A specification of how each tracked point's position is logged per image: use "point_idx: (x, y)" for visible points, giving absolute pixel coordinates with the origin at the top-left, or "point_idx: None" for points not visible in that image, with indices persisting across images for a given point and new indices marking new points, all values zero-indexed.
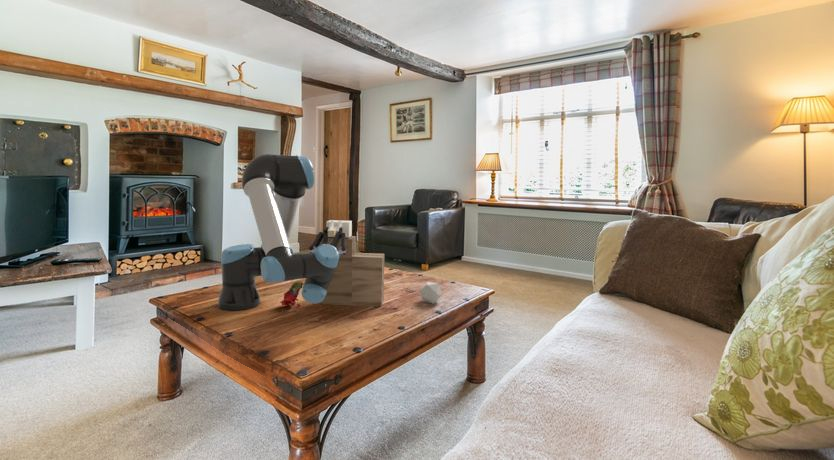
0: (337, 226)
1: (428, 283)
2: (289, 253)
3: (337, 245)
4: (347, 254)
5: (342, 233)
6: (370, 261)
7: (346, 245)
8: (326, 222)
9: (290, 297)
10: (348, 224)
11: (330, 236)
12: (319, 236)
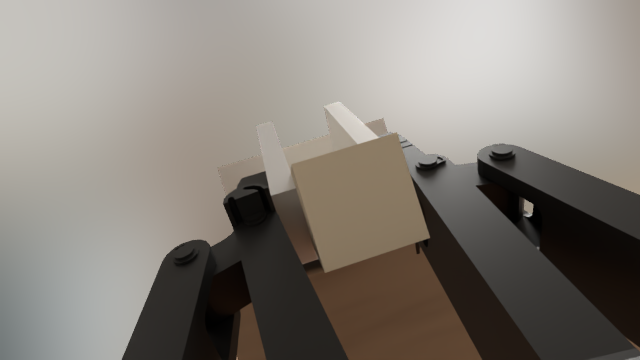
0: (348, 132)
1: None
2: None
3: (361, 317)
4: (457, 358)
5: (486, 157)
6: (632, 344)
7: (427, 291)
8: (220, 172)
9: None
10: (384, 133)
11: (365, 250)
12: (177, 321)
